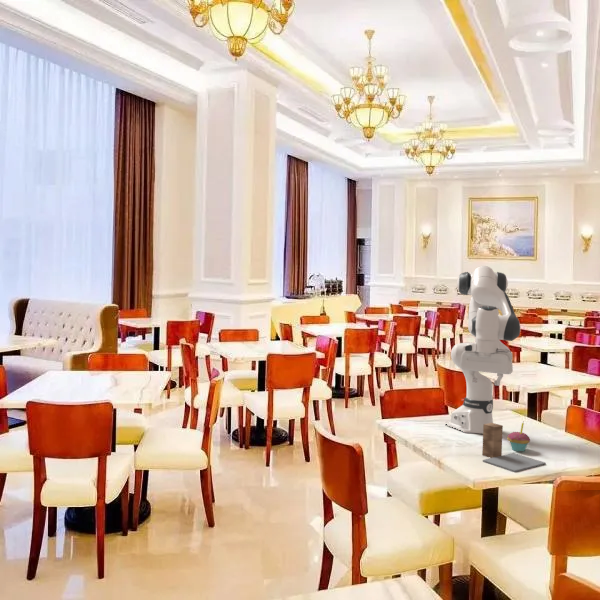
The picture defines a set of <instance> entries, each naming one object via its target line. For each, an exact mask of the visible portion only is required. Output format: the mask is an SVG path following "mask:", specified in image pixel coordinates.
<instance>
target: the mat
mask: <svg viewBox="0 0 600 600" xmlns="http://www.w3.org/2000/svg"><path fill="white" fill-rule="evenodd" d="M482 462H483V463H486V464H489V465H493V466H496V467H498V468H501V469H504V470H506V471H507V470H508V471H509V472H514V473H517V472H521V470H522V471H525V469H526V470H529V469H532V467H533V468H535V467H536V466H537V467H541V466H544V465H543V464H545V465H546V463H547V462H544V461H541V460H539V459H538V460H537V459H535V458H533V457H528V456H525V455H522V454H518V453H514V452H512V453H511V452H510V453H506V454H502V456H498V457H493V458H489V457H488V458H485V459H482ZM540 465H541V466H540Z"/></svg>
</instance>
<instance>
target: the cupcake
mask: <svg viewBox="0 0 600 600" xmlns="http://www.w3.org/2000/svg"><path fill="white" fill-rule="evenodd" d="M524 424H525V423H524V420H523V421H522V423H521V427H520V431H512V432H510V433H509V434H508V435H507V437H506V438H507V439H506V440H507V441H508V442H509V443H510V445H511V446H510V447H511V449H512V450H513V451H514V452H519V451H523V452H525V450H526V448H527V447H528V444H529V443H530V441H531V439H530V436H528V434H527V433H525V432H523V430H524Z"/></svg>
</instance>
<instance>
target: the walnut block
mask: <svg viewBox="0 0 600 600" xmlns="http://www.w3.org/2000/svg"><path fill="white" fill-rule="evenodd" d="M503 428H504V426H503V425H502V424H498V423H494V422H493V423H488V424H483V434H482V456H483V457H486V458H489V457H490V458H493V457H498V456H502V455H503V453H502V452H503Z"/></svg>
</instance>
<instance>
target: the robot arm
mask: <svg viewBox="0 0 600 600" xmlns="http://www.w3.org/2000/svg"><path fill="white" fill-rule="evenodd" d="M508 284H509V282H508V278H507V275H506V274H505V273H504V272H500V271H497V272H495V271H494V270H493V268H491V267H490V266H486V265H481V266H478V267H476V268H475V269H474V270H473V271H471V272H470V271H469V272H468V271H465V272H461V273H460V274H459V275H458V277H457V280H456V288H457V290H458V292H459V294H462V295H464V296H468V295H469V296H471V297H470V299H469V300H470V301H469V305H468V317H467V318H468V319H467V320H468V322H467V323H468V324H467V325H468V326H467V328H468V332H469V334H470V335H471V336H473V337H474V342H459V343H455V345H453V346H452V348H451V351H450V358H451V361H452V363H453V364H454V365H455V366H457V367H458V369H460V370H461V372H462V373H463V375H464V378H465V382H466V383H465V384H466V396H465V397H463V398H461V402H463V403H462V405H460V406H459V407H458V408H456V409H454V410H453V411H452V412H451V414H450V418H449V420H448V421H445V423H444V425H445V424H447V425H449V426H451V427H450V428H452V427H453V429H454V428H456V429H455V430H457V429H458V430H457V431H459V430H461V431H460V432H462V431H463V433H465V434H466V433H468V434H469V433H470V434H471V433H473V434H482V435H483V424H488V423H494V420H493V409H494V399H493V387H494V386H500V385H501V380H502V379H503V377H504V375H512V373H513V372H514V371H513V369H514V368H513V353H512V351H511V350H510V347H508V346H507V345H505V344H504V343H503V342H502V341H508V342H513V341H514V340H516V339H518V337H519V336H520V333H521V324H520V320H519V318H518V317H517V314H516V313H515V311H514V308H513V305H512V303H511V300H510V298H509V296H508V293H507V289H508V286H509V285H508ZM499 311H500V313H501V314H502V315H501V314H500V313H499ZM501 340H502V341H501ZM481 372H482V373H489V374H496V377H497V378H496V380H494V383H493V381H492V380H491V379H490V378H489V377H487V376H485V375H484V374H482V373H481ZM493 385H494V386H493ZM447 425H446V426H447ZM449 426H448V427H449Z"/></svg>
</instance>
